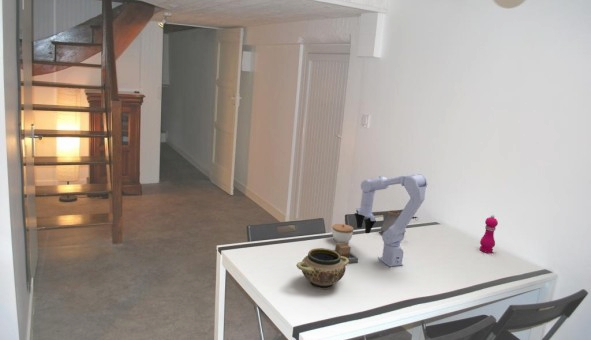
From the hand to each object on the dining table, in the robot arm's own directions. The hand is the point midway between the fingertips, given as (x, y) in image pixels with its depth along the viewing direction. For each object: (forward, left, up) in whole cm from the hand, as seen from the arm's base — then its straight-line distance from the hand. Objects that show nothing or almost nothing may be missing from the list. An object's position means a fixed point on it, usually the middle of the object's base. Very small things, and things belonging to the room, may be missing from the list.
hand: (363, 230), depth 224 cm
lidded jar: (+11, +5, -10) cm, 16 cm away
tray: (-9, +16, -10) cm, 21 cm away
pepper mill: (-15, -68, -10) cm, 70 cm away
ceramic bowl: (-30, +37, -10) cm, 49 cm away
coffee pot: (+11, -30, -10) cm, 34 cm away
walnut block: (-9, +16, -9) cm, 20 cm away
